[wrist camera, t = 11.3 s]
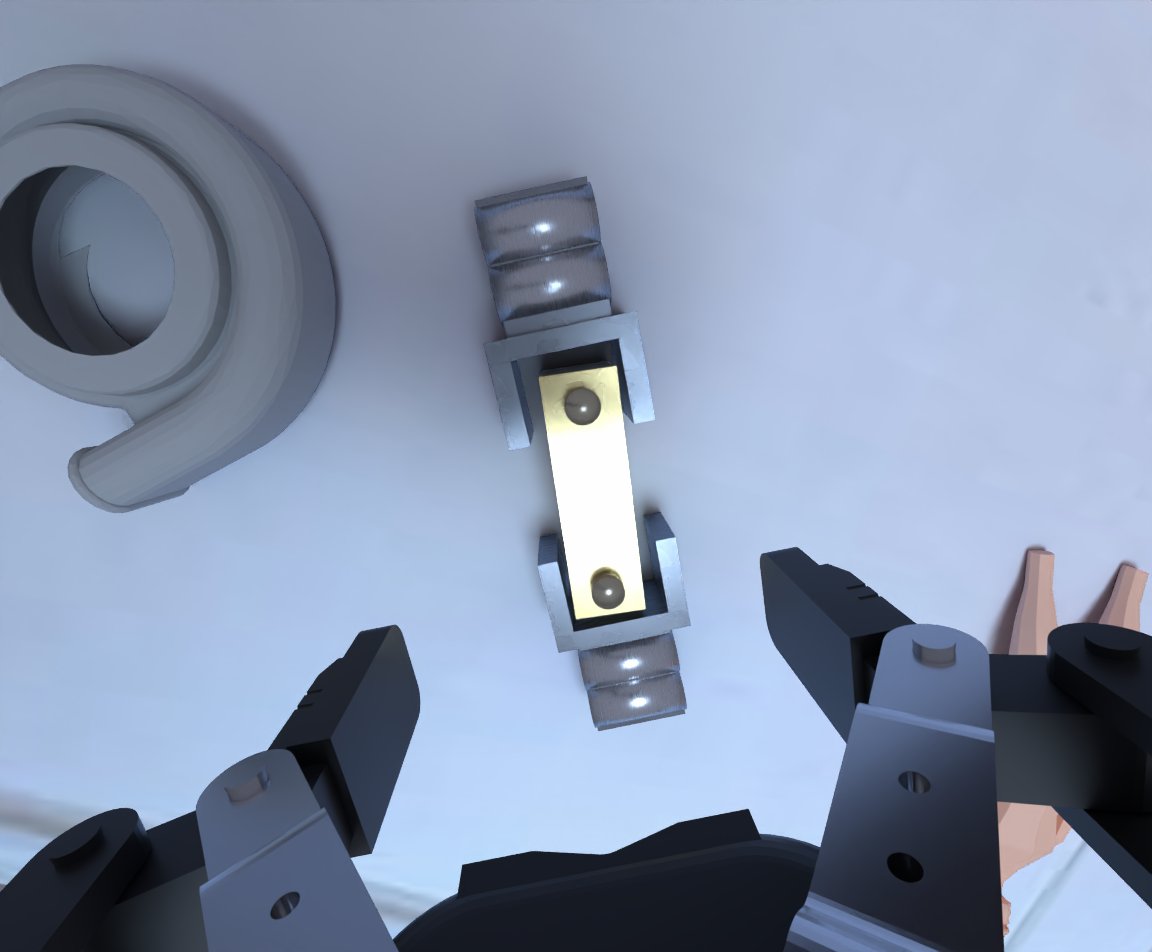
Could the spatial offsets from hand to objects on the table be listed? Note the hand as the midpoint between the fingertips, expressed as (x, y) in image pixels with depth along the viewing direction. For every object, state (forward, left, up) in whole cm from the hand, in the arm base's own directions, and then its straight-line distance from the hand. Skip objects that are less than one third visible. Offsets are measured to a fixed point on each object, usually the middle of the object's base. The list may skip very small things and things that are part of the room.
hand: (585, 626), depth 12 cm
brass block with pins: (+1, -1, -19) cm, 19 cm away
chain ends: (+1, -1, -19) cm, 19 cm away
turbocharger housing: (-17, +12, -19) cm, 28 cm away
